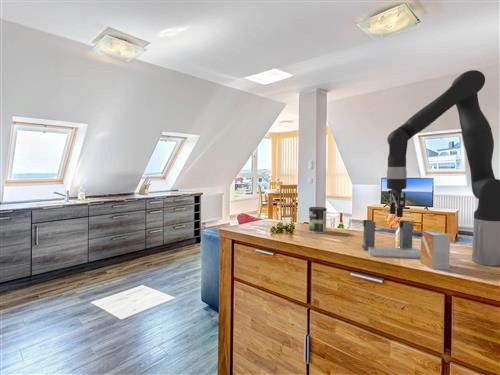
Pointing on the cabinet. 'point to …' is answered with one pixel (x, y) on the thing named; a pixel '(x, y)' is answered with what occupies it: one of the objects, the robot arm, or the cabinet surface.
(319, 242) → the cabinet surface
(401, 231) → the post near
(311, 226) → the coffee can
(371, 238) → the post far
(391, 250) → the rail
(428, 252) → the small box
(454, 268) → the cabinet surface
